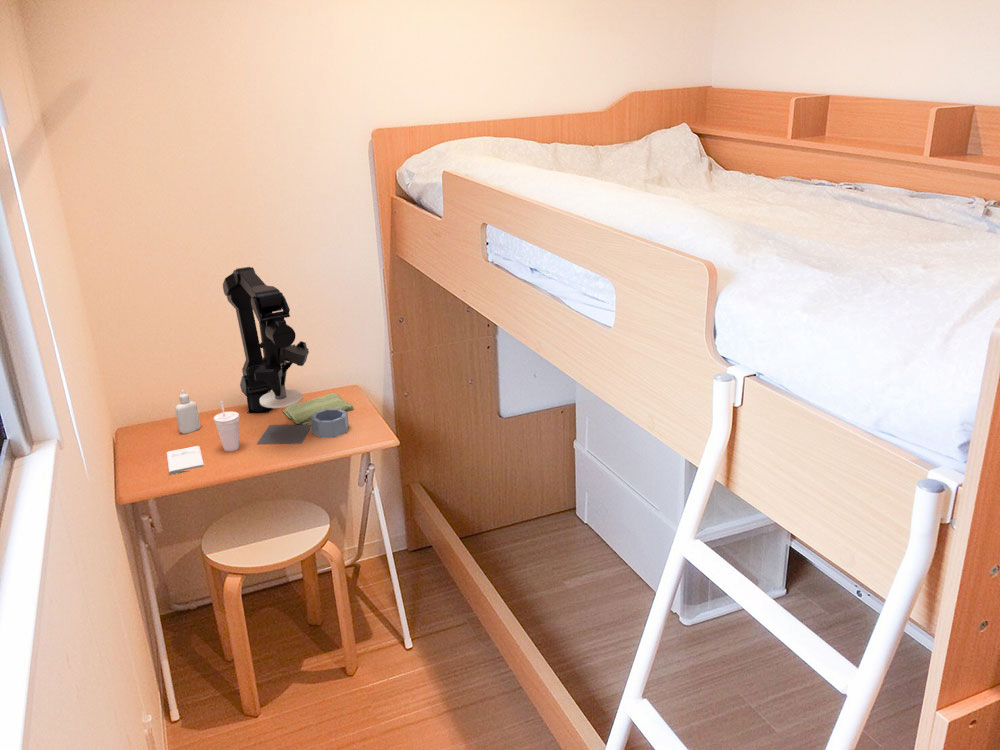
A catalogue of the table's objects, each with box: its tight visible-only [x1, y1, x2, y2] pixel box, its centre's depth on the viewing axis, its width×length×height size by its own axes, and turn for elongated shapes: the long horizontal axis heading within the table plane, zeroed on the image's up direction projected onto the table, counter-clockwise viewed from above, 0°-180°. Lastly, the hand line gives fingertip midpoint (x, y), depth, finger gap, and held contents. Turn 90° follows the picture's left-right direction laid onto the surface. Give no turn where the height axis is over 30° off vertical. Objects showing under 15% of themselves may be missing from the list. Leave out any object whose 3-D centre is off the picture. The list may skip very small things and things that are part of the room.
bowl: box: [310, 409, 349, 439], centre depth 217 cm, size 9×9×5 cm
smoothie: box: [213, 400, 241, 452], centre depth 207 cm, size 6×6×14 cm
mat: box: [256, 423, 312, 445], centre depth 216 cm, size 12×12×1 cm
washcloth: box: [282, 392, 354, 425], centre depth 230 cm, size 13×18×3 cm
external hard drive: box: [166, 445, 205, 476], centre depth 204 cm, size 2×8×12 cm
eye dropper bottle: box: [174, 389, 202, 435], centre depth 220 cm, size 4×6×12 cm
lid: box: [259, 384, 303, 409], centre depth 212 cm, size 11×11×4 cm
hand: (280, 393), depth 212 cm, fingers closed on lid, 3 cm apart
